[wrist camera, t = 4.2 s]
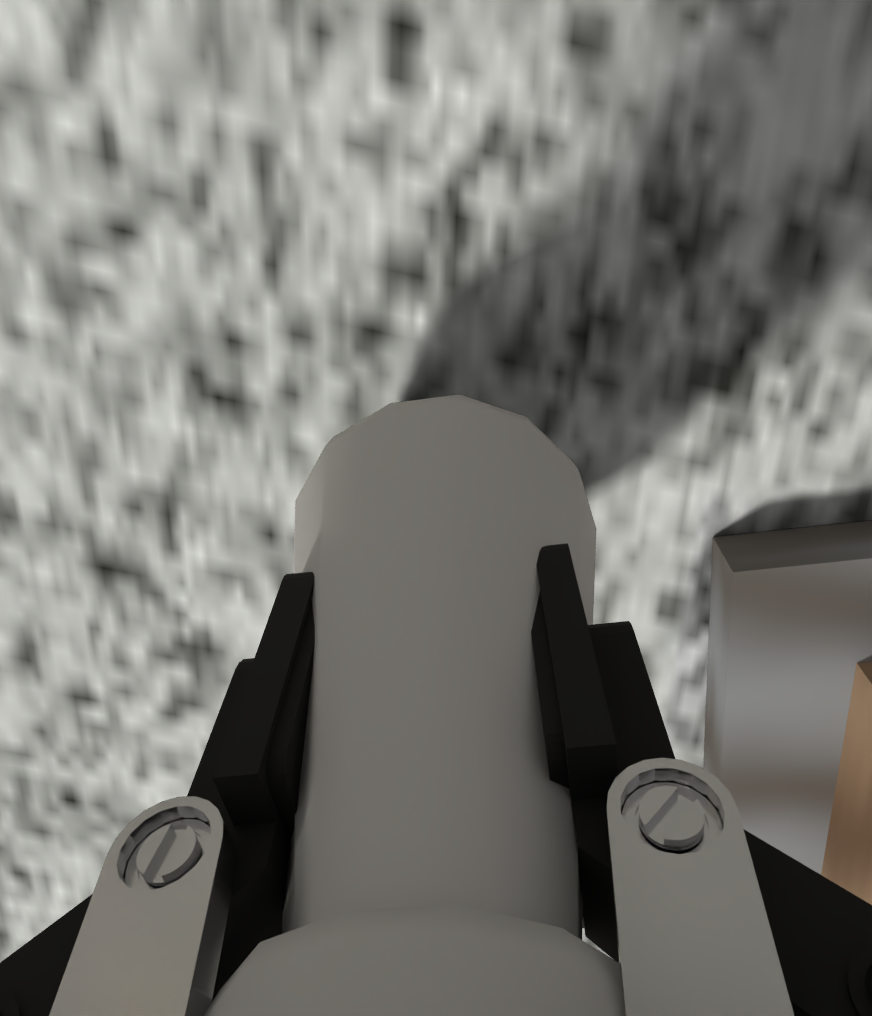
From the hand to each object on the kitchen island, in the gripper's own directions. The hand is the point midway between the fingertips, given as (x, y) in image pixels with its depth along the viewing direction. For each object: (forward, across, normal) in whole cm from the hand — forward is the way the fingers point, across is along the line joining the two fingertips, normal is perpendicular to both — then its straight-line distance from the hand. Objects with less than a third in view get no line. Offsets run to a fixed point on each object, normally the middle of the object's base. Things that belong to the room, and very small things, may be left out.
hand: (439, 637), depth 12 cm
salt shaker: (+5, 0, 0) cm, 5 cm away
